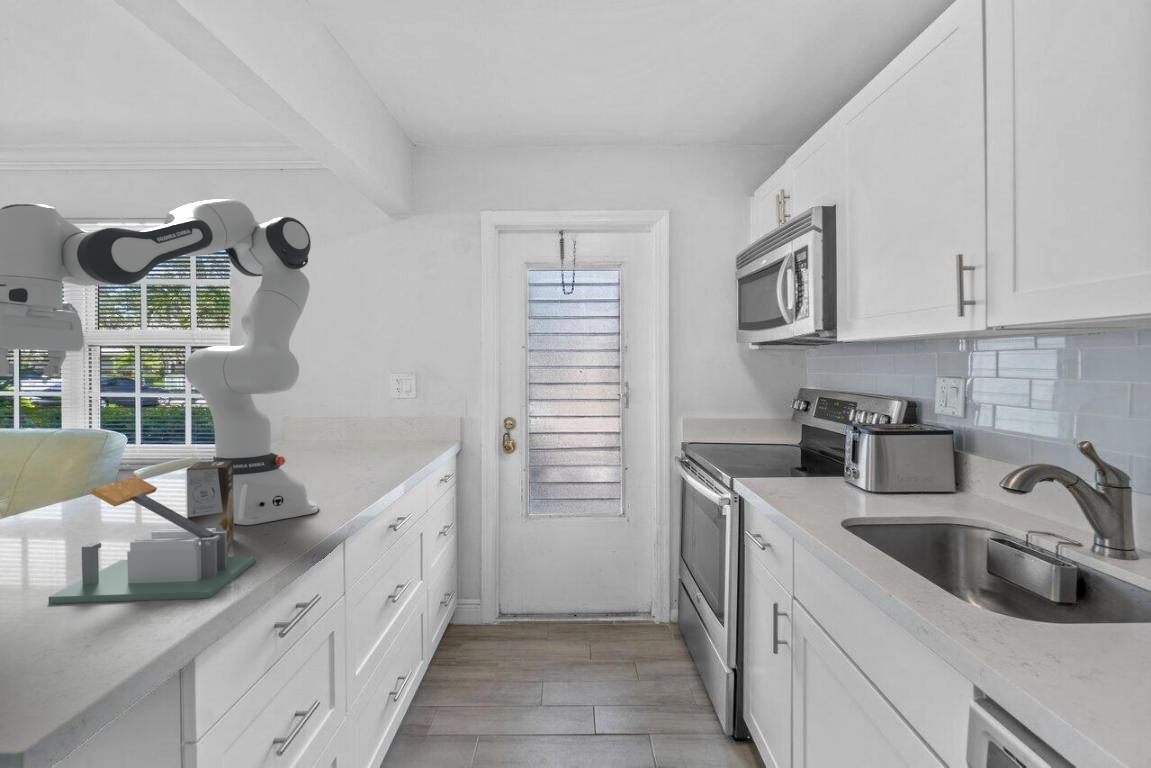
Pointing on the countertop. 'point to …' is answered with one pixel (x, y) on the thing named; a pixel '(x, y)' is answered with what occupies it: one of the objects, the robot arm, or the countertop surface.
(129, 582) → the heatsink board
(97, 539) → the countertop surface
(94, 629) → the countertop surface
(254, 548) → the countertop surface
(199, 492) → the coffee box
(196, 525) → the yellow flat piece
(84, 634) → the countertop surface
